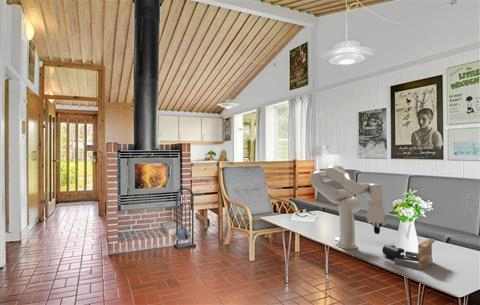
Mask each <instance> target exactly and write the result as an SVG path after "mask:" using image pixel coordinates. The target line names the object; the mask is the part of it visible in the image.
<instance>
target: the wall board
mask: <svg viewBox="0 0 480 305" xmlns="http://www.w3.org/2000/svg"><path fill="white" fill-rule="evenodd" d="M435 242H436V239H433V238H427V239H425V240H424V241H422V242H421V243H419V244H417V246H418V247H417V253H418V259H417V260H418V262H417V263H418V269H417V270H419V271H423V270H424V269H426V267H428V266H429V265H430V264H431V263H432V262H433V252H432V251H433V248H432V247H433V246H432V245H433V243H435Z"/></svg>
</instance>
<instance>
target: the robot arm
mask: <svg viewBox="0 0 480 305" xmlns="http://www.w3.org/2000/svg"><path fill="white" fill-rule="evenodd" d="M331 181H336V182H337V183H339V184H341V185H342V186H343V188H344V189H343V188H342V189H341V188H339V189H336V188H334V187H333V186H332V185H330V184H328V182H331ZM310 183H311V185H312V187H313V188H314V189H315V190H316V191H317V192H318V193H320V195H323V197H325V198H326V199H327V200H328V201H329V202H331V203H333V204H337V210H338V214H339V237H335V238H334V242H337V246H338V247H339V248H341V249H346V250H354V249H357V248H358V246H359V245H358V244H356V224H355V223H356V221H355V216H354V213H358V212H359V211H360V210H361V209H362V202H361V201H360V199H359V198H358V197H356V196H365V195H368V200H367V202H366V203H367V204H368V205H367V210H366V212H367V213H366V221H367V224H371V225H372V227H373V232H374V234H375V235H379V234H380V232H381V227H382V226H385V225H387V223H386V221H387V217H386V216H387V215H386V209H385V206H384V202H383V199H384V198H383V186H382V184H381V183H371V182H360V183H359V182H357V181H354V180H353V179H351V174H350V173H348V172H347V171H345V169H344V167H343V166H341V165H330V166H328V167H326V169H325V170H317V171H314V172H312V173H311V175H310ZM353 194H354V195H353ZM355 195H356V196H355Z"/></svg>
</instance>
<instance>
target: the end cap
mask: <svg viewBox="0 0 480 305" xmlns="http://www.w3.org/2000/svg"><path fill="white" fill-rule="evenodd" d="M381 251H382V254H383V255H384V256H386V257H388V258H391V259H393V260H395V258H398V259H402V260H405V259H404V258H405V254H404V253H405V249H404V248H401V247H397V246H395V245H388V244H385V245H383V247H382V250H381Z"/></svg>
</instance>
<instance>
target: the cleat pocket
mask: <svg viewBox="0 0 480 305" xmlns="http://www.w3.org/2000/svg"><path fill="white" fill-rule="evenodd" d="M404 253H405V257H407V258H410V259H416V260H418V252H413V251H409V250H406V251H405V250H404ZM409 255H410V256H409ZM413 256H416V257H413ZM394 264H395V265H398V266H403V267H406V268H411V269H415V270H419V269H418V262H415V261H410V260H405V259H404V260H402V259H398V258H395V259H394Z"/></svg>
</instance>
